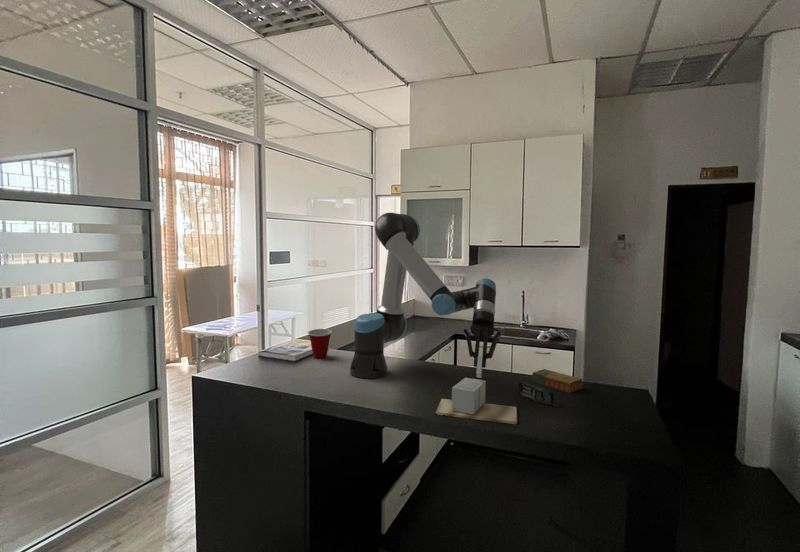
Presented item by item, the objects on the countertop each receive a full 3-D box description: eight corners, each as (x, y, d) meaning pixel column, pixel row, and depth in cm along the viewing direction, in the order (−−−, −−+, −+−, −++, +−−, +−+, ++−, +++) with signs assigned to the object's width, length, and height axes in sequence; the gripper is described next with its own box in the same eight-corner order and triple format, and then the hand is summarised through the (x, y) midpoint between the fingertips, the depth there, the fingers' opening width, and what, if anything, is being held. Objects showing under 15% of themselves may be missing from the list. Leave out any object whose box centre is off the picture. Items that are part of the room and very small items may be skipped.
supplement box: (486, 402, 138) (473, 415, 126) (464, 398, 141) (450, 410, 130) (486, 380, 137) (474, 391, 126) (465, 376, 140) (451, 387, 129)
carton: (569, 394, 151) (570, 382, 150) (531, 382, 163) (531, 371, 163) (582, 389, 156) (582, 378, 155) (543, 378, 168) (544, 368, 168)
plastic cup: (303, 359, 188) (304, 332, 187) (312, 353, 199) (313, 328, 198) (327, 360, 186) (327, 334, 185) (334, 354, 197) (335, 329, 196)
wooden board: (435, 414, 129) (435, 412, 129) (441, 400, 140) (441, 398, 140) (516, 424, 123) (517, 421, 123) (516, 409, 134) (516, 406, 134)
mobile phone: (517, 381, 148) (554, 393, 135) (523, 380, 150) (559, 391, 137) (517, 395, 148) (553, 408, 136) (522, 394, 150) (559, 406, 137)
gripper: (502, 323, 151) (499, 383, 136) (465, 321, 154) (459, 379, 139) (502, 310, 146) (499, 371, 131) (464, 308, 149) (457, 367, 134)
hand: (478, 375), depth 135 cm, fingers closed
